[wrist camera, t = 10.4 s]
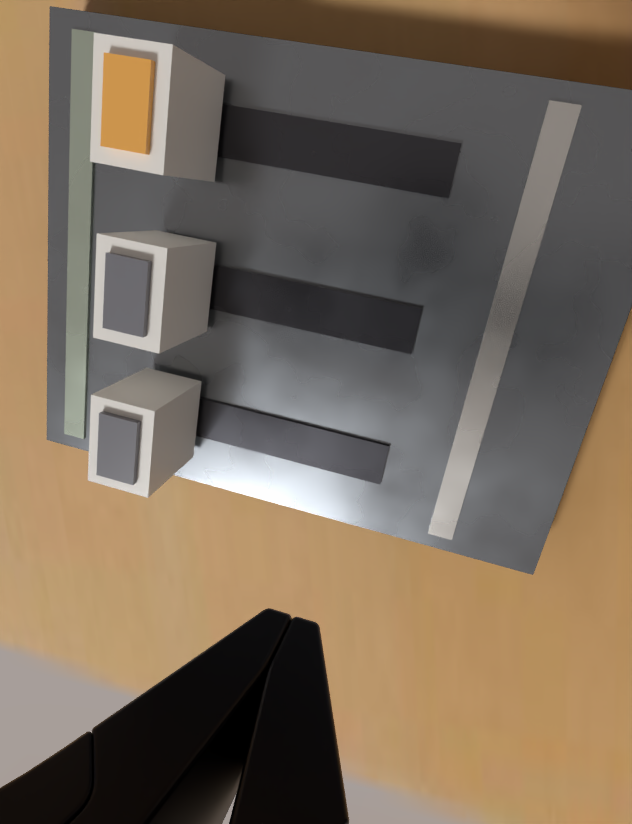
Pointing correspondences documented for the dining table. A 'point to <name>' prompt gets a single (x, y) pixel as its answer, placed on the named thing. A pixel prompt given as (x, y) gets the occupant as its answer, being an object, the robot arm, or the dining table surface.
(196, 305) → the breaker
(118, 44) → the block
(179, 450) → the block
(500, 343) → the panel
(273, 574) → the dining table surface
